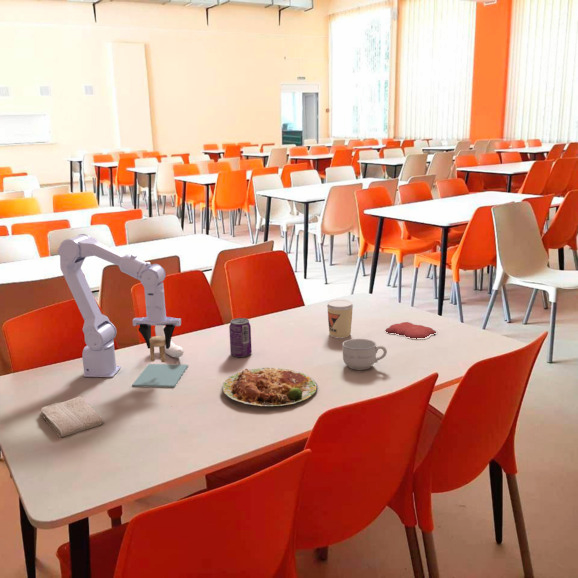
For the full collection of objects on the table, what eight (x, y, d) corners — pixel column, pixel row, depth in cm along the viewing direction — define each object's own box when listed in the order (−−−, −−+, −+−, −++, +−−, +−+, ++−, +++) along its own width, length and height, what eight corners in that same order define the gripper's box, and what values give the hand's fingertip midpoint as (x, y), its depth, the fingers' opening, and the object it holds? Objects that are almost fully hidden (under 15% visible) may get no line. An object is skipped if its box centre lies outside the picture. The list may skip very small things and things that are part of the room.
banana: (178, 366, 200) (175, 323, 196) (152, 349, 215) (148, 309, 211) (191, 362, 203) (188, 320, 199) (165, 346, 218) (161, 306, 214)
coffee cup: (322, 332, 228) (322, 301, 225) (344, 328, 232) (344, 298, 228) (334, 340, 220) (334, 308, 217) (357, 336, 224) (357, 304, 220)
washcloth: (80, 402, 177) (79, 392, 176) (106, 425, 163) (105, 415, 163) (38, 415, 170) (36, 405, 169) (61, 440, 156) (59, 429, 155)
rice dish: (296, 369, 199) (295, 353, 198) (332, 401, 174) (332, 383, 173) (211, 383, 190) (210, 367, 188) (237, 419, 164) (236, 400, 163)
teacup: (336, 369, 195) (336, 345, 193) (350, 357, 204) (350, 335, 202) (378, 377, 188) (379, 352, 186) (390, 364, 198) (391, 341, 196)
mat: (132, 386, 186) (132, 384, 185) (149, 365, 201) (148, 363, 201) (174, 387, 184) (174, 385, 184) (188, 366, 200) (188, 364, 200)
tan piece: (148, 362, 189) (146, 341, 187) (154, 356, 194) (153, 335, 192) (164, 364, 188) (163, 342, 186) (170, 357, 193) (169, 336, 191)
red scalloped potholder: (380, 332, 228) (380, 327, 228) (401, 323, 238) (401, 318, 237) (421, 343, 217) (422, 338, 216) (441, 333, 226) (442, 328, 226)
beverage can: (253, 350, 212) (251, 317, 209) (249, 358, 205) (248, 324, 202) (232, 350, 213) (231, 317, 209) (228, 358, 206) (227, 324, 202)
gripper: (127, 309, 183) (131, 351, 187) (175, 309, 182) (178, 352, 186) (135, 302, 190) (139, 343, 194) (181, 302, 189) (184, 344, 192)
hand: (159, 347), depth 190 cm, fingers closed on tan piece, 5 cm apart
